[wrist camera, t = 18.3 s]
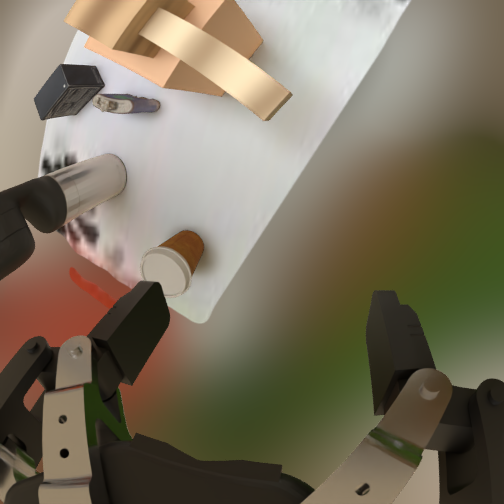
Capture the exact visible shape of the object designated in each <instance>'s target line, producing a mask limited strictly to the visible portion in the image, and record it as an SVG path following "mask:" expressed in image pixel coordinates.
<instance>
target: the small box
mask: <svg viewBox="0 0 504 504" xmlns="http://www.w3.org/2000/svg"><path fill="white" fill-rule="evenodd" d="M103 87H104V83H103V81H102V79H101V77H100V75H99V73H98V70H97V68H96V66H89V65H70V64H60V65H59V66H58V68H57V69H56V70H55V71H54V73H53V74H52V75H51V76H50V77H49V79H48V80H47V81H46V83H45V84H44V86H43V87H42V88H41V90H40V91H39V92H38V94H37V95H36V97H35V98H34V101H35V104H36V107H37V110H38V113H39V116H40V119H41V120H45V119H50V118H56V117H62V116H69V115H76V114H77V113H78V112H79V111H80V110H81V109H82V108H83V107H84V106H85V105H86V104H87V103H88V102H89V101H90V100H91V99H92V98H93V97H94V96H95V95H96V94H97V93H98V92H99V91H100V90H101V89H102V88H103Z"/></svg>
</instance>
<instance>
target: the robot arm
mask: <svg viewBox="0 0 504 504" xmlns="http://www.w3.org/2000/svg"><path fill="white" fill-rule="evenodd" d="M125 184H126V171H125V167H124V165H123V163H122V162H121V160H120V159H119V158H118V157H117V156H115V155H113V154H104V155H101V156H97V157H94V158H91V159H88V160H85V161H82V162H79V163H76V164H73V165H71V166H68V167H65V168H62V169H60V170H57V171H55V172H52V173H50V174H47V175H45V176H42V177H40V178H36V179H32V180H30V181H27V182H25V183H23V184H20V185H18V186H15V187H12V188H9V189H7V190H4V191H2V192H0V280H1V279H3V278H4V277H6V276H7V275H9V274H10V273H12V272H13V271H15V270H16V269H17V268H18V267H20V266H21V265H22V264H24V263H25V262H26V261H27V260H28V259H29V258H30V256H31V255H32V253H33V252H34V249H35V242H34V238H33V236H32V233H31V231H30V229H29V227H28V225H27V223H26V221H25V219H26V220H28V221H29V222H30V223H31V224H32V225H33V226H34V227H35V228H36V229H37V230H39V231H40V232H43V233H51V232H54V231H55V230H57V229H59V228H60V227H62V226H63V225H65V224H67V223H68V222H70V221H72V220H73V219H75V218H76V217H78V216H80V215H82V214H83V213H85V212H87V211H89V210H90V209H92V208H94V207H96V206H97V205H99V204H101V203H103V202H105V201H107V200H109V199H110V198H112V197H114V196H116V195H118V194H119V193H121V192H122V190H123V189H124V187H125ZM169 322H170V313H169V309H168V306H167V303H166V299H165V296H164V293H163V289H162V286H161V284H160V283H159V282H154V281H140V282H139V283H138V284H137V285H136V286H135V287H134V288H133V289H132V290H131V292H129V293H127V294H126V295H124V296H123V297H121V298H120V299H119V300H118V301H117V302H116V303H115V304H114V305H113V308H111V309H110V310H109V311H108V313H107V314H106V315H105V316H104V317H103V318H102V319H101V320H100V321H99V323H98V324H97V325H96V326H95V327H94V328H93V330H92V331H91V332H90V333H89V334H88V335H87V337H86V336H76V337H72V338H70V339H69V340H67V341H66V342H65V343H64V344H63V345H62V346H61V347H50V346H49V344H48V343H47V341H46V339H45V338H44V337H41V336H38V337H34V338H31V339H29V340H28V341H27V342H26V343H25V344H24V345H23V346H22V347H21V348H20V349H19V351H18V352H17V353H16V354H15V356H14V357H13V358H12V359H11V360H10V362H9V363H8V364H7V366H6V367H5V368H4V369H3V371H2V372H1V373H0V499H1V500H2V501H3V502H4V504H392V503H393V501H394V500H395V499H396V498H397V496H398V495H399V494H400V492H401V491H402V489H403V488H404V487H405V485H406V484H407V482H408V481H409V480H410V478H411V476H412V475H413V474H414V472H415V471H416V469H417V467H418V466H419V464H420V462H421V460H422V456H421V455H422V453H423V451H424V449H430V450H437V451H438V458H439V483H440V499H439V500H440V501H439V504H504V382H502V381H500V380H498V379H487V380H485V381H483V382H482V383H481V384H480V385H479V387H478V388H477V389H469V388H462V387H457V386H453V385H452V383H451V382H450V380H449V378H448V377H447V376H446V375H445V374H444V373H442V372H441V371H439V370H436V367H435V364H434V361H433V358H432V355H431V352H430V349H429V346H428V343H427V340H426V338H425V336H424V332H423V329H422V327H421V324H420V321H419V319H418V316H417V314H416V313H415V312H414V311H413V309H412V308H411V307H410V306H409V305H400V303H399V300H398V297H397V295H396V292H395V291H374V292H373V295H372V300H371V306H370V311H369V316H368V321H367V326H366V344H367V350H368V358H369V366H370V374H371V384H372V394H373V404H374V415H384V417H383V418H382V419H381V421H380V422H379V423H378V425H377V426H376V427H375V428H374V429H373V430H371V431H370V432H369V433H368V434H367V436H366V437H365V438H364V439H363V440H362V442H361V443H360V444H359V445H358V446H357V447H356V449H355V450H354V451H353V452H352V453H351V454H350V455H349V456H348V458H347V459H346V460H345V461H344V462H343V463H342V464H341V465H340V466H339V467H338V468H337V469H336V470H335V471H334V473H333V474H332V475H331V476H330V477H329V478H328V479H327V480H326V481H325V482H323V483H322V484H321V486H319V488H317V489H316V490H314V489H313V488H312V487H311V486H310V485H308V484H307V483H305V482H303V481H301V480H300V479H298V478H295V477H293V476H291V475H288V474H285V473H282V465H278V464H268V463H259V462H252V461H245V460H232V461H200V460H197V459H195V458H193V457H191V456H189V455H187V454H185V453H184V452H181V451H180V450H178V449H176V448H175V447H173V446H171V445H169V444H168V443H165V442H162V441H159V440H156V439H153V438H150V437H146V436H144V435H141V434H138V433H136V434H135V436H134V438H133V439H132V437H131V435H130V434H129V431H128V429H127V424H126V419H125V415H124V409H123V404H122V398H121V392H120V389H119V388H118V386H119V384H120V382H122V383H125V384H128V385H131V386H132V385H133V383H134V381H135V380H136V378H137V377H138V375H139V373H140V372H141V370H142V368H143V367H144V365H145V363H146V362H147V360H148V358H149V356H150V355H151V353H152V352H153V350H154V349H155V347H156V345H157V344H158V342H159V341H160V339H161V337H162V336H163V334H164V333H165V331H166V329H167V328H168V326H169ZM36 379H37V380H38V381H39V382H40V384H41V385H42V386H43V387H44V389H45V390H44V391H43V393H42V394H41V396H40V398H39V399H38V400H37V402H36V403H35V405H34V407H33V408H32V409H31V411H30V412H29V411H28V410H27V409H26V408H25V406H24V403H23V399H24V396H25V394H26V393H27V391H28V390H29V388H30V387H31V386H32V384H33V383H34V381H35V380H36ZM42 456H43V469H44V472H42V473H40V472H39V471H37V470H36V467H37V466H38V464H39V462H40V460H41V458H42Z"/></svg>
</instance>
